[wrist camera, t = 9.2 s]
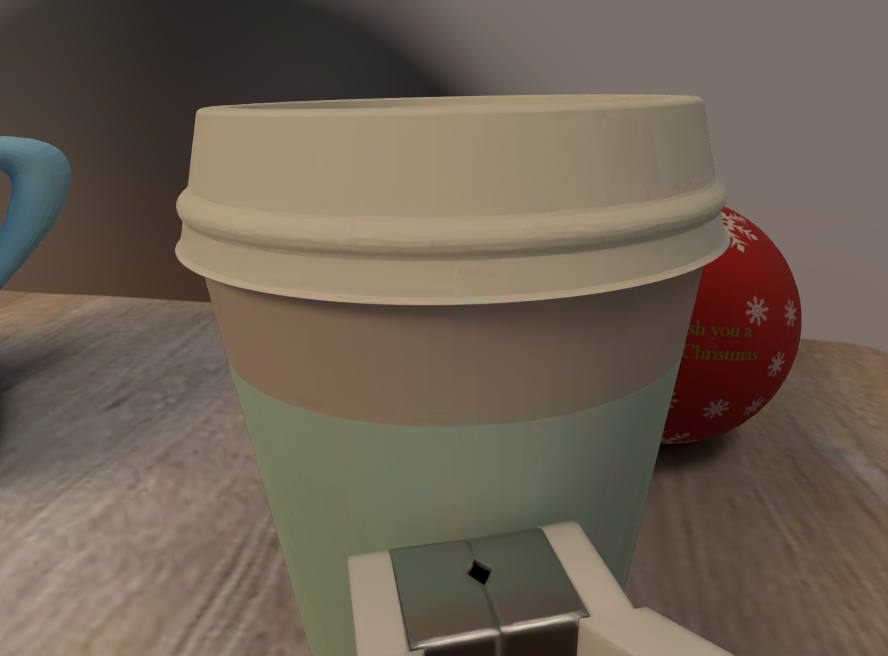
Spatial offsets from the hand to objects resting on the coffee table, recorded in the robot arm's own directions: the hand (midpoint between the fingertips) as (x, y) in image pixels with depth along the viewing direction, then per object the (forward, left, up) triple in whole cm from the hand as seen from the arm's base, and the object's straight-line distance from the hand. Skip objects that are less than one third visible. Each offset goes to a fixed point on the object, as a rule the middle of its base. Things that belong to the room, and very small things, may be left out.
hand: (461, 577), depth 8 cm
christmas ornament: (-13, -10, -6) cm, 18 cm away
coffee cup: (-2, -4, -6) cm, 7 cm away
